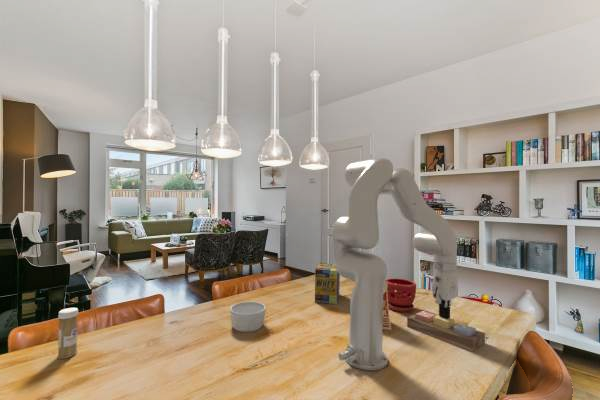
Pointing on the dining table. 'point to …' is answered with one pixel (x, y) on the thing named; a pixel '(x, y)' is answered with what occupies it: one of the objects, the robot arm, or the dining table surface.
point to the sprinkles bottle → (67, 332)
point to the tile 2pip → (443, 322)
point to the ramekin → (247, 316)
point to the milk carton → (386, 309)
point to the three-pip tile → (425, 316)
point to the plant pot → (401, 294)
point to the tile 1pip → (464, 330)
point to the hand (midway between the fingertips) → (444, 317)
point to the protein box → (327, 283)
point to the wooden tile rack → (447, 334)
